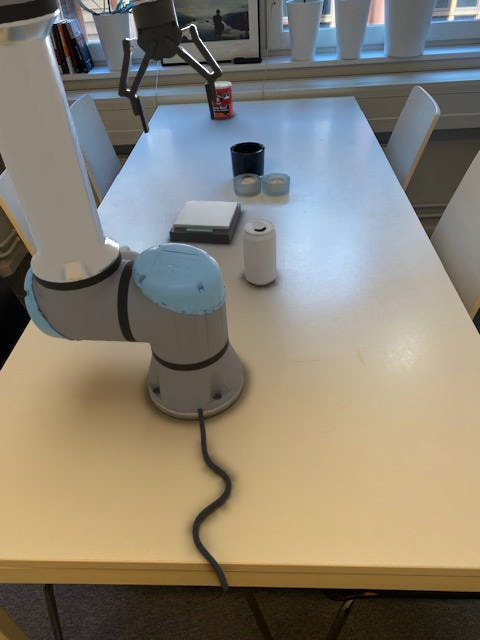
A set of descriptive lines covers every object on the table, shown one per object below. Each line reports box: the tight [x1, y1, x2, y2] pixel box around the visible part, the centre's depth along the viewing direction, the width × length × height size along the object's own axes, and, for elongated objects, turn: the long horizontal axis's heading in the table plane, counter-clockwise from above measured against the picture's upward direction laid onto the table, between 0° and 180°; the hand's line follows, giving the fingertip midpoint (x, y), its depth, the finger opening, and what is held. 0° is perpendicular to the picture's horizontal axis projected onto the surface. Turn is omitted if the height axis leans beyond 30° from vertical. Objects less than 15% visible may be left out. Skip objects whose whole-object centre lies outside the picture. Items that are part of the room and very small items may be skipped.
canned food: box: [212, 80, 234, 120], centre depth 177 cm, size 8×8×11 cm
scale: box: [168, 199, 242, 245], centre depth 117 cm, size 15×14×3 cm
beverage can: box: [242, 218, 277, 286], centre depth 97 cm, size 6×6×12 cm
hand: (180, 125), depth 98 cm, fingers open, 13 cm apart
